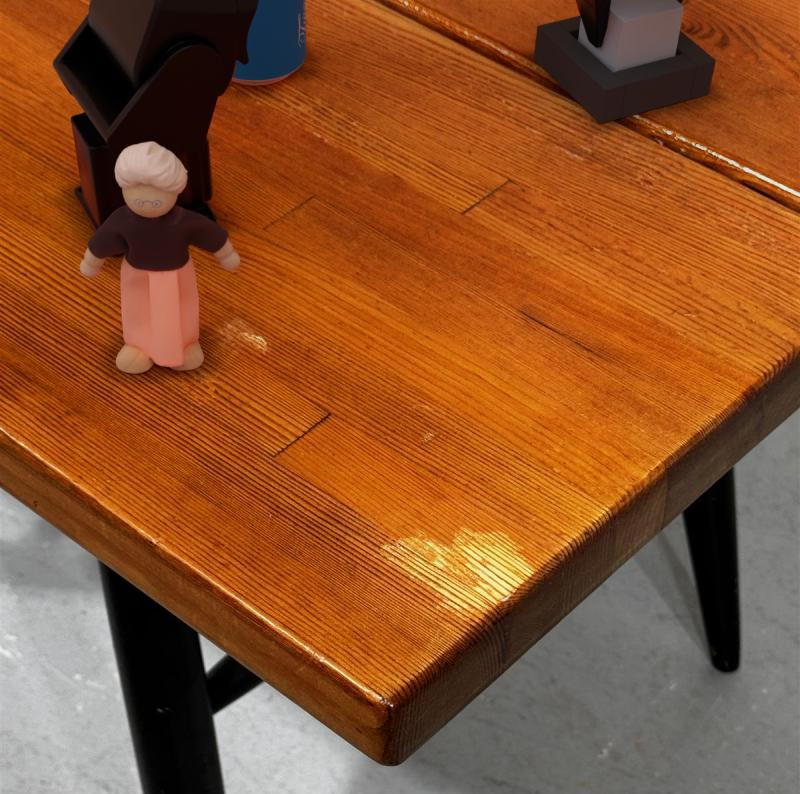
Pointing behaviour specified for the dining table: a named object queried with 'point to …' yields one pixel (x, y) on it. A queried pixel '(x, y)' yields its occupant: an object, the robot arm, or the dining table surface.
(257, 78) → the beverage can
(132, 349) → the grandmother figurine
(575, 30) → the dark grey square frame
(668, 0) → the light grey cube
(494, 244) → the dining table surface
